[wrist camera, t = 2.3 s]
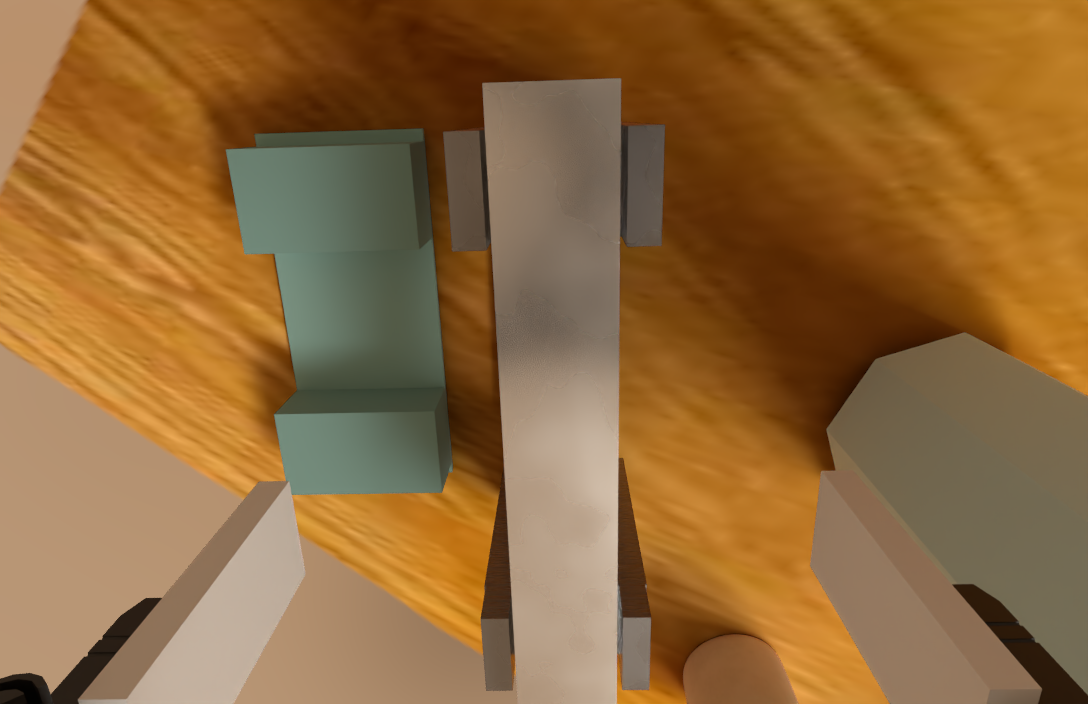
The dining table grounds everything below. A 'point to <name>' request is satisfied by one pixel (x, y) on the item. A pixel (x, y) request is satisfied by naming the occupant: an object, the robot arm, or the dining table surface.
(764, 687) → the candle
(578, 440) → the rail
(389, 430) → the rest
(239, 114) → the dining table surface
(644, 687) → the stand
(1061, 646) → the water bottle
